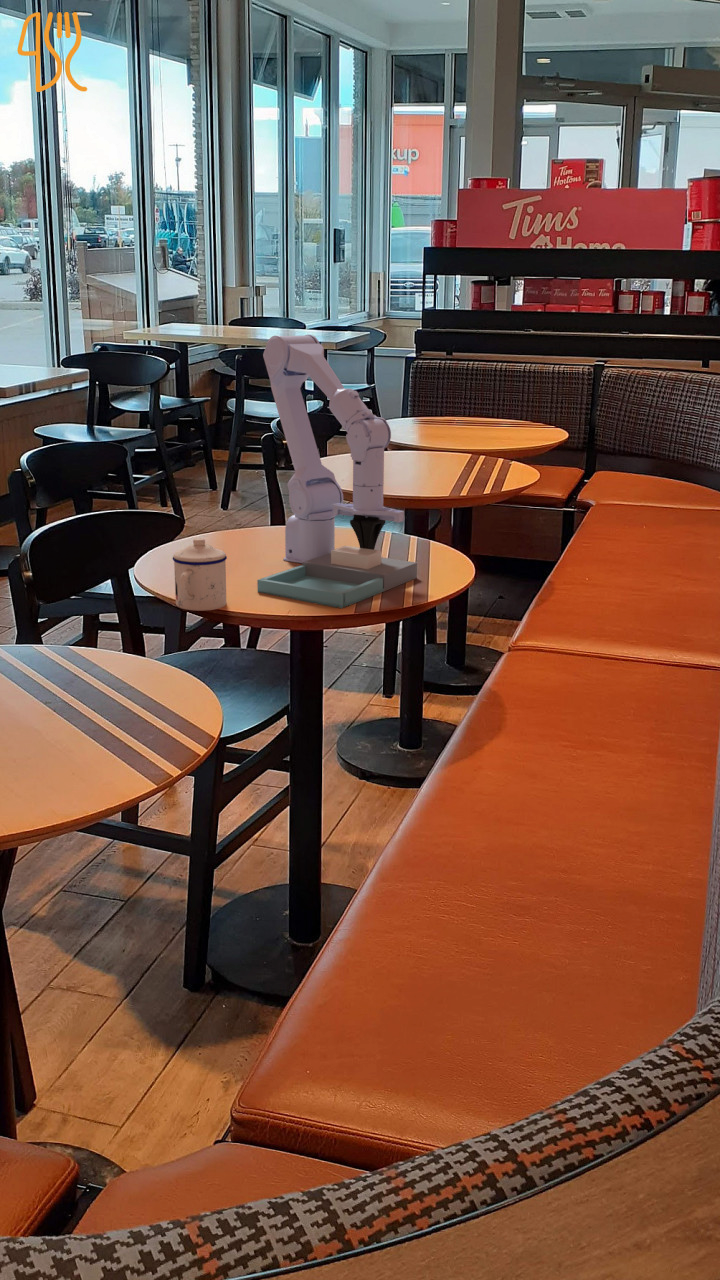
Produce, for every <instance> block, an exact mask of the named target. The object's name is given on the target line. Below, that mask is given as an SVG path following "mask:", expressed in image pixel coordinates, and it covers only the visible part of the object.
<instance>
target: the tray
mask: <svg viewBox="0 0 720 1280" xmlns="http://www.w3.org/2000/svg"><path fill="white" fill-rule="evenodd" d="M256 582H257V583H256V584H257V593H261V594H266V595H272V596H275V597H280V598H286V599H290V600H296V601H300V602H306V603H310V604H314V603H316V604H315V605H320V604H321V606H326V605H327V607H331V606H332V608H337V607H339V608H338V609H344V608H346V607H345V606H347V607H349V606H352V605H354V604H356V603H359V602H362V601H364V600H366V599H369V598H371V597H374V596H376V595H379V594H381V593H384V592H385V591H384V589H383V578H376V579H373V580H371V581H368V582H366V583H363V584H360V585H359V584H353V583H347V582H341V581H335V580H329V579H323V578H317V577H311V576H305V566H302V565H297V566H295V567H291V568H289V569H288V568H287V569H286V570H283V571H280V572H276V573H273V574H271V575H268V576H265V577H261V578H258V579H257V581H256ZM351 604H352V605H351ZM348 605H349V606H348ZM343 607H344V608H343Z"/></svg>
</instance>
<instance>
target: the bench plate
mask: <svg viewBox="0 0 720 1280" xmlns="http://www.w3.org/2000/svg"><path fill="white" fill-rule="evenodd" d="M301 564H302V566H305V576H311V577H317V578H323V579H329V580H335V581H341V582H347V583H353V584H359V585H360V584H363V583H366V582H368V581H371V580H373V579H376V578H383V589H384V592H386V591H388V590H391V589H394V588H396V587H398V586H400V585H403V584H405V583H408V582H410V581H414V580H416V579H417V578H418V562H417V561H415V562H414V561H408V560H403V559H396V558H389V557H382V559H381V564H380V565H377V566H375V567H372V568H369V569H363V568H357V567H350V566H344V565H337V564H331V553H329V554H326V555H323V556H320V557H317V558H314V559H311V560H308V561H305V562H302V563H301Z"/></svg>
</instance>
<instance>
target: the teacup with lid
mask: <svg viewBox="0 0 720 1280" xmlns="http://www.w3.org/2000/svg"><path fill="white" fill-rule="evenodd" d="M192 542H193V544H190V545H188V546H186V547H185V548H183V549H180V550H177V551H175V552H174V554H173V556H172V560H173V565H174V566H173V567H174V568H173V569H174V590H175V594H174V595H175V605H176V607H178V608H180V609H182V610H187V611H188V610H189V611H199V612H200V611H201V612H202V611H203V612H204V611H213V610H219V609H222V608H224V607H225V606H226V605H227V575H226V574H227V572H226V570H227V569H226V568H227V567H226V560H227V558H228V557H227V553H225V551H224V550H222V549H218V548H216V547H214V546H212V545H211V544H206V540H205V539H204V538H201V537H200V538H194V539H193V541H192Z"/></svg>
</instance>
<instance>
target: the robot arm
mask: <svg viewBox="0 0 720 1280" xmlns="http://www.w3.org/2000/svg"><path fill="white" fill-rule="evenodd" d="M262 356H263V360H264V364H265V367H266V371H267V374H268V377H269V381H270V388H271V392H272V396H273V399H274V402H275V406H276V409H277V413H278V416H279V421H280V423H281V428H282V430H283V434H284V437H285V441H286V444H287V448H288V451H289V455H290V457H291V462H292V465H293V468H294V474H292V476H291V478H290V479H289V481H288V482H287V485H286V486H287V489H288V492H289V493H288V504H289V508H290V509H291V511H292V513H293V514H292V515H291V516H290V517H289V518H288V519H287V521H286V524H285V530H284V533H285V534H284V535H285V539H284V540H285V541H284V542H285V544H284V545H285V548H284V549H285V556H284V557H283V561H284V562H285V561H286V562H292V563H297V564H302V562H305V561H308V560H311V559H314V558H317V557H320V556H323V555H326V554H329V553H331V550H334V549H335V542H336V541H335V536H336V535H335V523H336V522H335V521H336V520H335V517H337V516H338V515H339V516H348V517H349V516H350V517H352V519H350V520H349V525H350V527H351V528H352V530H353V531H354V534H355V535H356V538H357V541H358V545H359V548H365V549H372V550H375V547H376V544H377V542H378V538H379V535H380V533H381V532H382V529H383V527H384V526H385V524H386V521H390V522H394V523H398V524H400V523H401V522H404V521H405V510H400V509H395V508H391V507H390V508H389V507H388V506H387V507H386V506H384V484H385V483H384V482H385V481H384V479H385V478H384V476H385V473H384V472H385V449H386V448H387V447H388V446H389V444H390V442H391V438H392V431H391V427H390V425H389V423H388V421H387V420H386V419H385V418H384V417H378V416H377V415H376V414H373V412H372V411H371V410H370V409H369V408H368V406H367V405H366V404H365V403H364V402H363V400H362V399H361V398H360V394H359V392H358V391H357V390H354V389H352V388H345V386H343V383H342V382H341V380H340V379H339V377H338V376H337V374H336V373H335V372H334V370H333V369H332V367H331V366H330V364H329V362H328V361H327V359H326V358H325V348H324V346H323V345H322V344H321V343H320V342H319V339H318V338H317V337H316V336H315V335H314V334H305V335H273V336H271V337H270V338H269V339H268V340H267V343H266V345H265V348H264V351H263V354H262ZM308 378H310V379H311V380H312V381H313V383H314V384H315V385H316V386H317V387H318V388H319V390H321V391H322V393H324V395H325V396H326V397H327V398H328V399H329V404H328V407H329V411H330V412H331V413H332V414H333V416H334V417H335V418H336V420H337V421H338V422H339V423H340V425H341V427H342V428H343V429H344V430H345V431H346V434H345V435H346V436H345V438H346V443H347V445H348V447H349V450H350V457H351V460H352V465H353V467H352V503H344V492H343V490H342V487H341V486H340V484H339V483H338V482H337V480H336V476H335V473H334V472H333V471H331V470H330V469H329V468H327V467H326V466H324V464H322V460H321V456H320V454H319V449H318V446H317V443H316V439H315V436H314V433H313V428H312V426H311V422H310V418H309V415H308V411H307V409H306V404H305V400H304V398H303V394H302V389H301V387H302V386H303V383H304V382H306V381H307V380H308Z"/></svg>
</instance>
